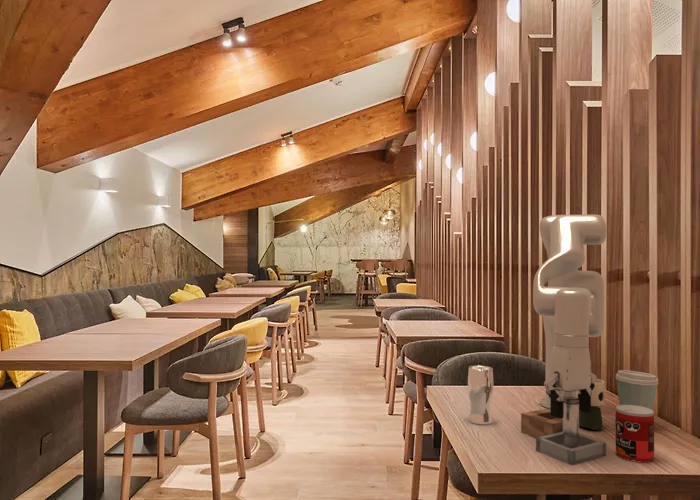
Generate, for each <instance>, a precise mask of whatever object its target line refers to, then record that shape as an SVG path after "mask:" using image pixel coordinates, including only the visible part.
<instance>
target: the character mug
mask: <svg viewBox="0 0 700 500" xmlns="http://www.w3.org/2000/svg"><path fill="white" fill-rule="evenodd" d="M605 387H606V381H605V380H604V379H600V378H596V381H595V387H594V389H593V390H592V392H593V394H592V396H591V412H590V413H586V412H583V411H580V410H579V427H583V428H588V430H602V429H603V426H604V425H603V416H602V409H601V406H604V405H605V404H606V403H605V402H606V399H605V398H606V395H605V394H606V388H605ZM578 393H580V392H579V390H578V391H576V398H578ZM580 394H581V393H580Z"/></svg>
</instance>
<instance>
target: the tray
mask: <svg viewBox="0 0 700 500" xmlns="http://www.w3.org/2000/svg"><path fill="white" fill-rule="evenodd" d="M562 434H563V432H559V433H555V434H550V435H546V436H541V437H537V438H535V451H537V452H538V453H541V454H545V455H547V456H549V457H552V458H553V459H556V460H559V461H562V462H564V463H566V464H568V465H571V466H573V465H576V464H581V463H584V462H587V461H591V460H594V459H598V458H599V459H600V458H602V457H606V456H607V442H605V441H602V440H599V439H596V438H593V437H591V436H587V435H584V434H582V433H579V447H576V448H572V449H570V448H568V447H565V446H562Z"/></svg>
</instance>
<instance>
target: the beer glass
mask: <svg viewBox="0 0 700 500" xmlns="http://www.w3.org/2000/svg"><path fill="white" fill-rule="evenodd" d="M467 389H468V390H467V391H468V397H469V403H470V413H469V417H468V421H469V422H470V423H472V424H475V425H481V426H483V425H484V426H485V425H490V424H491V423H492V417H491V403H492V398H493V391H494V371H493V367H491V366H487V365H470V366H468V375H467Z"/></svg>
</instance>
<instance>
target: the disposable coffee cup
mask: <svg viewBox="0 0 700 500" xmlns="http://www.w3.org/2000/svg"><path fill="white" fill-rule="evenodd" d="M615 379H616V380H615V381H616V387H617V395H618V402H619V404H618V405H635V406H641V407H646V408H649V409H651V410H653V407H654V402H655V398H656V391H657V386H658V385H659V379H658V377H657V375H654V374H652V373H648V372H647V373H646V372H642V371H635V370H625V369H624V370H622V369H621V370H618V371H617V372H616V374H615Z"/></svg>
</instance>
